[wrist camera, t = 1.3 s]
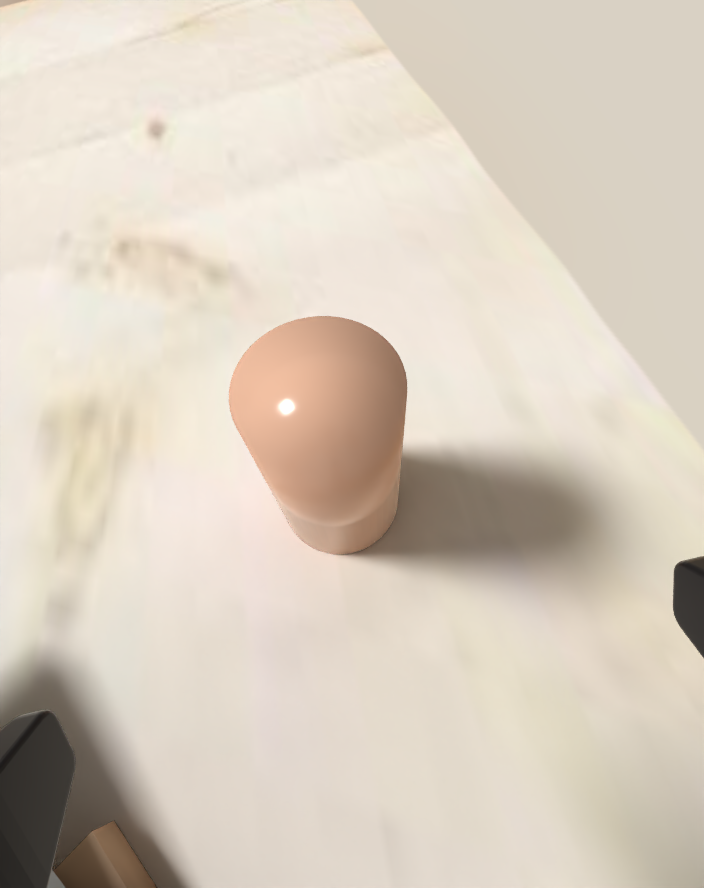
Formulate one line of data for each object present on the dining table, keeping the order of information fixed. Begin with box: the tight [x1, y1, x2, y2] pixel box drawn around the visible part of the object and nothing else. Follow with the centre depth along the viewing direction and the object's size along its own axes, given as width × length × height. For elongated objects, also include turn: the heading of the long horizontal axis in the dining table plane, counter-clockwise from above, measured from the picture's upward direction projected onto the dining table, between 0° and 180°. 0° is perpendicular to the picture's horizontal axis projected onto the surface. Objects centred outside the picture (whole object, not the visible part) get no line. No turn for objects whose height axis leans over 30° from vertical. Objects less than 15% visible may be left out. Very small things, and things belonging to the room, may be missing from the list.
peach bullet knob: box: [229, 316, 407, 554], centre depth 18 cm, size 5×5×9 cm
